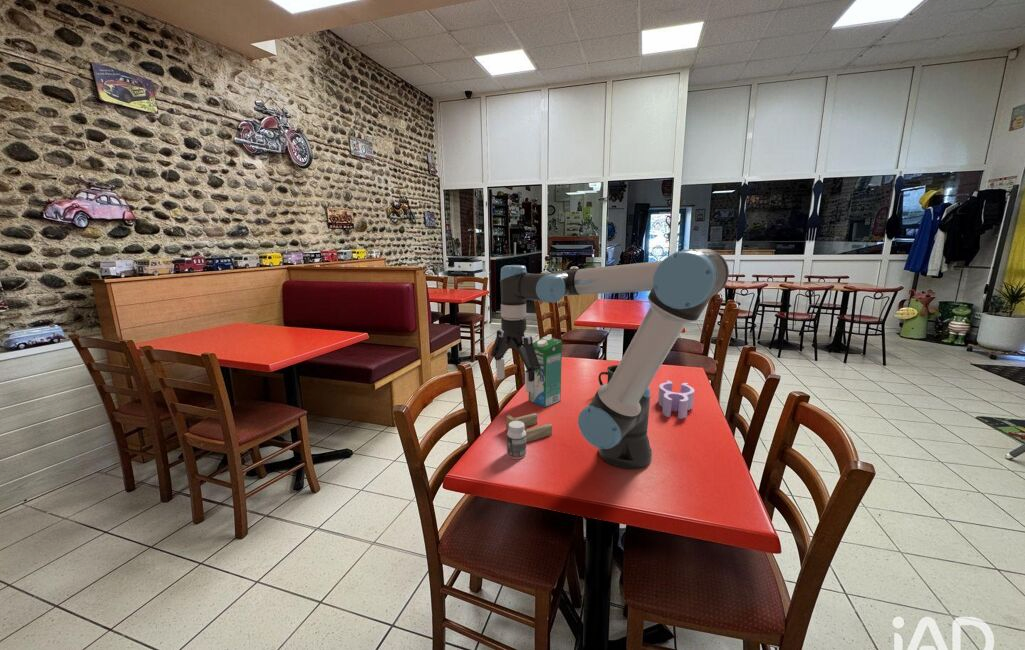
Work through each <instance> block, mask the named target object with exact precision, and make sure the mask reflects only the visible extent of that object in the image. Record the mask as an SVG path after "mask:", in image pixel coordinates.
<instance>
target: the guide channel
mask: <svg viewBox="0 0 1025 650" xmlns="http://www.w3.org/2000/svg"><path fill="white" fill-rule="evenodd" d="M512 421H521V422H523V423H524V426H525V428H524V430H525V431H526V443H528V442H529V443H530V442H533V441H536V440H540V439H544V438H546V437H550V436H552V435H553V424H551V423H545V424H543V425H542V424H541V425H537V424H538V414H537V413H536V412H532V413H528V414H525V415H521V416H518V417H513V416H512V415H510V414H509V415H506V416H505V431H507V432H508V430H509V423H510V422H512ZM535 425H537V426H535ZM531 426H535V427H531ZM528 427H531V428H528ZM527 428H528V429H527Z"/></svg>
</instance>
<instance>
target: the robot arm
mask: <svg viewBox="0 0 1025 650" xmlns="http://www.w3.org/2000/svg"><path fill="white" fill-rule="evenodd" d="M727 263H728V262H727V261H726V259H725V258H724V257H723V255H721V254H720V253H718V252H717V251H715V250H713V249H708V248H696V249H692V248H691V249H682V250H679V251H676V252H674V253H671V254H670V255H668V256H666V257H665V258H664V259H663V260H659V261H658V260H657V261H649V262H637V263H629V264H619V265H609V266H600V267H599V266H596V267H590V268H589V267H588V268H587V267H586V268H579V269H565V270H560V271H553V272H546V273H529V272H528V271H527V267H526V265H522V264H521V265H520V264H511V265H510V264H509V265H504V266H502V267H501V268H500V280H499V282H500V298H501V299H500V316H501V320H500V323H501V324H500V327H501V329H498V330H496V337H495V340H494V343H493V346H492V350H491V353H490V356H491V357H493V358H494V360H495V369H496V371H495V372H496V380H497V381H500V380H503V379H505V378H506V376H505V375H506V374H505V370H506V369H505V355H506V353H507V351H508V350H509V349H510V348H511V349H513V350H515V351H516V352H517V353H518V354H519V355H518V356H519V357H520V358H521V361H522V363H523V364H524V366H525V368H526V370H525V371H524V392H525V393H529V392H530V391H533V381H534V380H535V370H538V369H540V365H539V362H538V359H537V356H536V353H535V350H534V346H533V343H534V342H533V336H525V332H526V330H527V318H526V317H527V300H529V301H536V302H537V301H538V302H542V303H543V302H544V303H558V302H560V301H561V299H562V298H563V297H567V296H581V295H596V294H597V295H598V294H599V295H600V294H619V293H638V292H639V293H640V292H643V293H644V292H649V294H648V296H647V299H648V303H649V304H650V305H649V308H648V310H647V312H646V314H645V315H644V317H643V319H642V321H641V323H640V324H639V326H638V329H637V331H636V332H635V334H634V336H633V337H632V339H631V341H630V344H629V345H628V347H627V349H626V350H625V352H624V354H623V356H622V358H621V360H620V361H619V363H618V364H617V365H618V367H617V368H616V370H615V372H614V374H613V376H612V378H611V379H610V381H609V383H608V384H607V383H605V384H604V383H603V384H604V385H600V386H599V387H598V389H597V390H596V392H595V394H594V396H593V398H592V400H591V402H590V403H589V404H588V405H587V406H585V407H584V408H582V410H581V412H580V413H579V415H578V419H577V424H578V429H579V430H580V434H581V435H582V437H583V438H584V439H585V441H586V442H588V443H589V444H590V445H591V446H593V447H594V448H596V449H598V455H599V456H600V458H601V459H602V460H603V461H604V462H606V463H607V464H609V465H611V466H614V467H617V468H621V469H626V470H636V469H642V468H645V467H647V466H648V465H650V464H651V462H652V459H653V451H652V450H653V449H652V448H651V445H650V444H651V443H650V439H649V436H648V426H649V416H650V414H649V413H650V403H651V388H650V385H651V383H652V381H653V379H654V378H655V376H656V375H657V374H658V371H659V369H660V367H661V366H662V364H663V363H664V361H665V359H666V358H667V356H668V355H669V353H670V351H671V349H672V348H673V346H674V344H675V343H676V341H677V340H678V338H679V337H680V335H681V333H682V332H683V330H684V329H685V327H686V325H687V324H690V323H691V324H692V323H694V322H697V321H698V319H699V318H700V316H701V314H702V313H703V312H704V310H705V308H706V307H707V304H708V303H709V302H710V301H711V300H712V299H711V298H712V297H714V296H716V295H717V294H719V293H720V292H721V291H722V290H723V289H724V288H725V286H726V285H727V283H728V280H729V275H730V269H729V265H728V264H727ZM535 365H536V366H535Z"/></svg>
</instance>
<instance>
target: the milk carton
mask: <svg viewBox="0 0 1025 650" xmlns="http://www.w3.org/2000/svg"><path fill="white" fill-rule="evenodd" d="M533 346H534V350H535V353H536V356H537V359H538V362H539V365H540V369H538V370H535V380H534V381H533V391H530V392H528V401H529V402H532V403H534V404H536V405H539V406H541V407H543V408H547V407H549V406H552V405H554V404H556V403H559V402H561V397H562V393H561V392H562V364H563V363H562V362H563V361H562V360H563V359H562V358H563V356H562V355H563V340H561V339H558V338H555V337H552V336H551V337H550V336H547V335H544V336H543V337H541V338H539V339H538V340H536V341H534V342H533ZM535 366H536V365H535Z"/></svg>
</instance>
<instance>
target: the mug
mask: <svg viewBox="0 0 1025 650" xmlns="http://www.w3.org/2000/svg"><path fill="white" fill-rule="evenodd" d="M618 365H619V364H615V365H610V366H608V367H607V368H606V371H601V372H600V373H599V374H598V383H599V385H600V386H601V385H604V383H603V381H602V378H601V377H602V375H606V376H607V383H606V384H608V383H609V381H610V379H611V378H612V376H613V374H614V372H615V370H616V368H617V367H618Z"/></svg>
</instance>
